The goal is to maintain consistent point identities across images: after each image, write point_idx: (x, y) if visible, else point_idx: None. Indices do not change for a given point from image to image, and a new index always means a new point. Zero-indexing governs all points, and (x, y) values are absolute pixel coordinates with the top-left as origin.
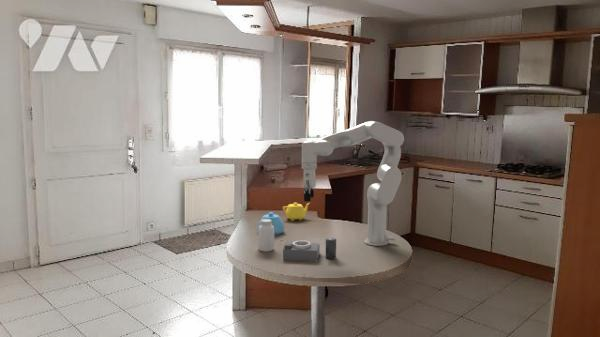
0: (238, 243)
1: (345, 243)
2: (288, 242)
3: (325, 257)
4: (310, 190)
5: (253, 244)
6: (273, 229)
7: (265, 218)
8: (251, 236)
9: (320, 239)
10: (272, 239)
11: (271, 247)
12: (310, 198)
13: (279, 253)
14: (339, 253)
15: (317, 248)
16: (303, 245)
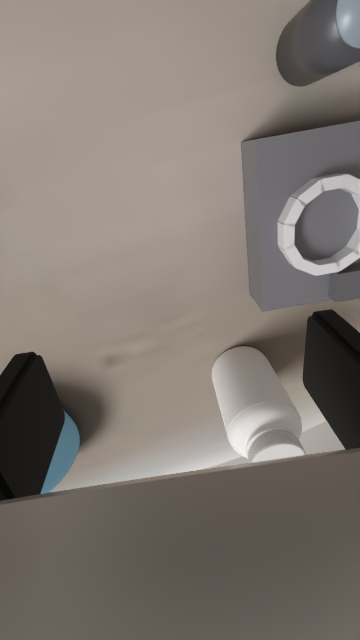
0: (200, 457)
1: (3, 11)
2: (271, 303)
3: (308, 84)
4: (12, 480)
5: (196, 420)
6: (272, 400)
7: (43, 492)
8: (111, 457)
9: (10, 205)
10: (265, 371)
11: (259, 354)
12: (347, 328)
13: (277, 312)
14: (219, 8)
15: (357, 122)
16: None
